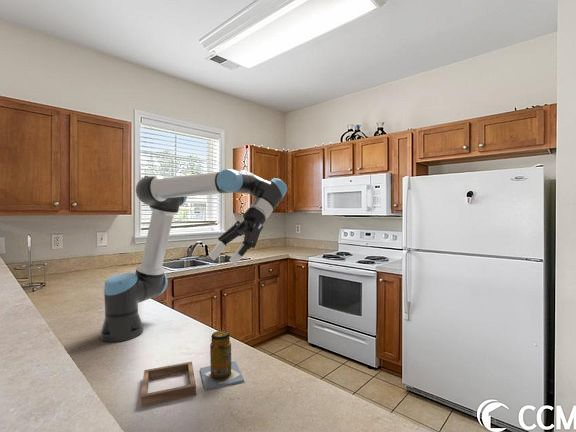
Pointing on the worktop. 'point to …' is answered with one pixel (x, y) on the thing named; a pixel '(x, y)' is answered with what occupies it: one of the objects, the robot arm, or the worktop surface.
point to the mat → (213, 384)
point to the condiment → (221, 358)
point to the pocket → (168, 393)
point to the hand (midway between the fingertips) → (221, 260)
